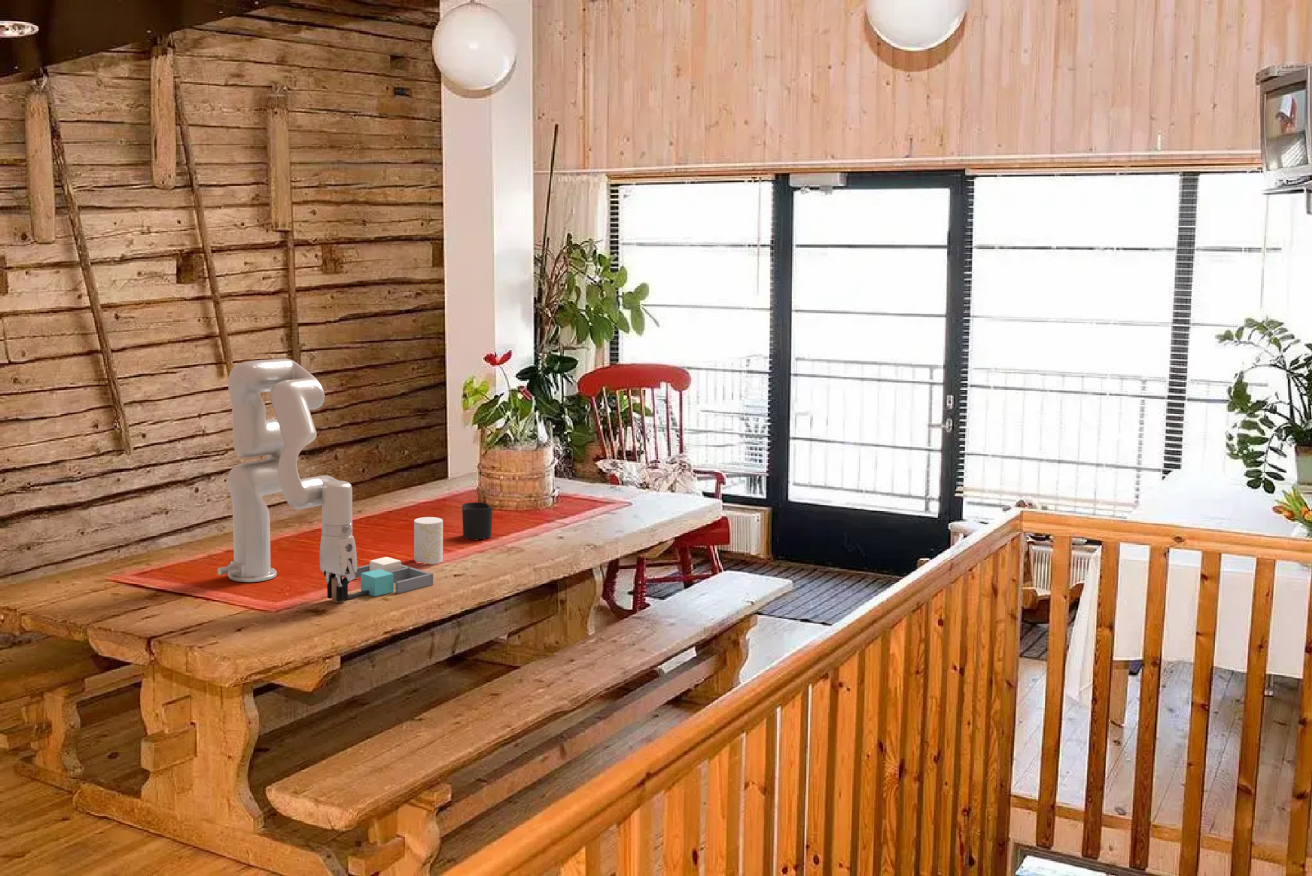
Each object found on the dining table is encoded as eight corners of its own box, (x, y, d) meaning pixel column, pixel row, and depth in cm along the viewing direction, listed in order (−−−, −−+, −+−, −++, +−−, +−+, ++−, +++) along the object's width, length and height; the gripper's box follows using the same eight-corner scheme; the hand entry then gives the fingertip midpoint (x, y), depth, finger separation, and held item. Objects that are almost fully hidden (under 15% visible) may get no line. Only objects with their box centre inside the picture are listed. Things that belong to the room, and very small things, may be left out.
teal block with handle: (339, 604, 332) (339, 582, 331) (325, 599, 336) (325, 577, 335) (393, 591, 344) (393, 569, 343) (379, 587, 348) (379, 565, 347)
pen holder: (496, 534, 409) (496, 503, 407) (487, 541, 400) (487, 510, 398) (467, 532, 410) (467, 501, 409) (457, 539, 401) (458, 507, 400)
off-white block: (384, 582, 353) (384, 564, 352) (369, 578, 357) (369, 560, 356) (401, 578, 358) (401, 560, 357) (386, 574, 362) (386, 556, 361)
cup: (419, 565, 371) (419, 524, 369) (410, 558, 378) (410, 518, 376) (446, 562, 374) (446, 522, 372) (437, 555, 382) (437, 516, 379)
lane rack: (398, 593, 343) (398, 582, 343) (353, 578, 355) (353, 568, 355) (433, 584, 353) (433, 574, 352) (388, 570, 364) (388, 560, 364)
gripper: (369, 532, 329) (369, 602, 332) (329, 521, 339) (330, 589, 343) (345, 537, 324) (345, 608, 327) (305, 526, 334) (306, 595, 337)
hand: (337, 598), depth 335 cm, fingers closed on teal block with handle, 3 cm apart
